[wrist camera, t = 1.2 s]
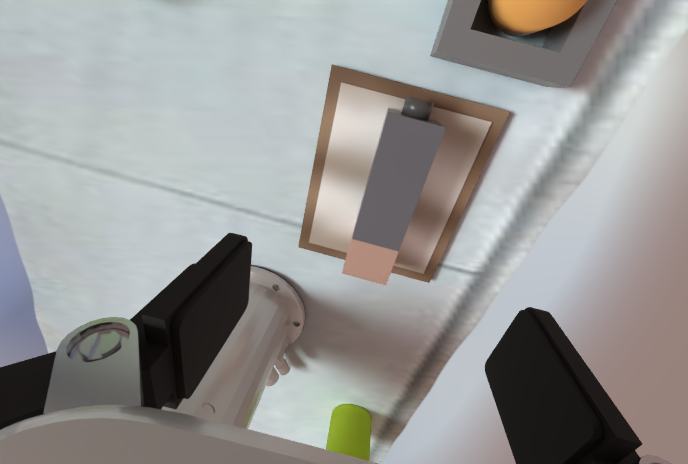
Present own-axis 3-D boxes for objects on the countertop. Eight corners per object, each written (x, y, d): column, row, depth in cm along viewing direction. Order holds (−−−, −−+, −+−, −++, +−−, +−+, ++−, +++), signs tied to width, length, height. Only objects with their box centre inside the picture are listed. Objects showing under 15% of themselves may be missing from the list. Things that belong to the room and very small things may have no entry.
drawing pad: (428, 278, 30) (429, 284, 30) (300, 243, 31) (297, 248, 30) (506, 110, 23) (510, 111, 22) (333, 65, 23) (331, 64, 22)
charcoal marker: (386, 260, 29) (385, 285, 26) (347, 250, 29) (342, 273, 26) (442, 104, 22) (453, 108, 19) (392, 91, 22) (393, 92, 19)
